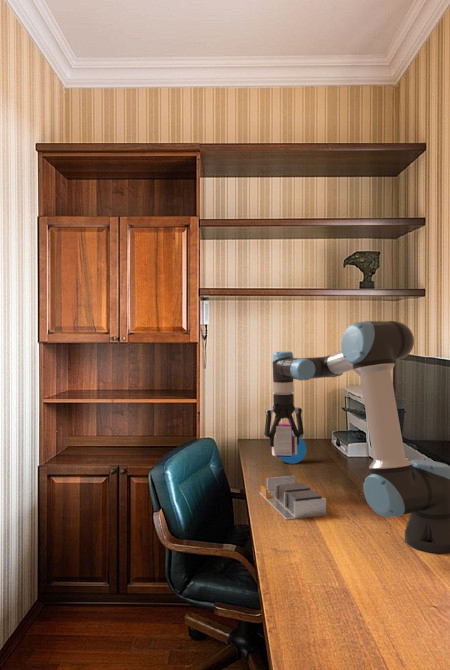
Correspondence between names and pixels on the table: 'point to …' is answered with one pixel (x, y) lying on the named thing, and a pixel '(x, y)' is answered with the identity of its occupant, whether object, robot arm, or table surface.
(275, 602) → the table surface
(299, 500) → the rack
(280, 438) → the supplement box
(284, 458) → the alarm clock
